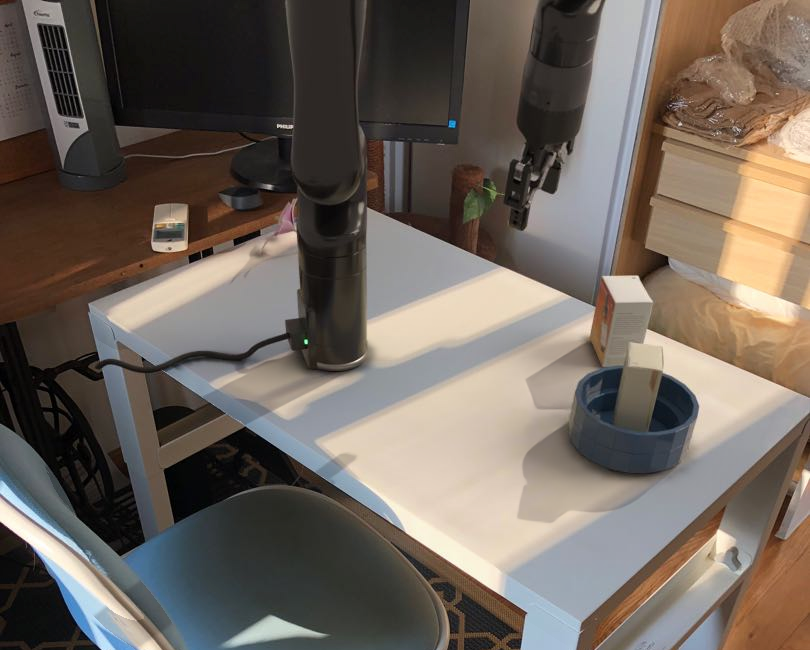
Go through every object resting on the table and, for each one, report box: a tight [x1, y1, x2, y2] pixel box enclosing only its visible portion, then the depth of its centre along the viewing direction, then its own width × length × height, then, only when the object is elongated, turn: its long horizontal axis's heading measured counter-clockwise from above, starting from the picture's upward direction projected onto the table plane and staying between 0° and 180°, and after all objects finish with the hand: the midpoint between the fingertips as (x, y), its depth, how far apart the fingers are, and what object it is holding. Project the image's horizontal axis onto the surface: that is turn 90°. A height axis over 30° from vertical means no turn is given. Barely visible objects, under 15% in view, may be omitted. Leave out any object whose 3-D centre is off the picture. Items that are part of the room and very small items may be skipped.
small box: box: [589, 275, 654, 368], centre depth 132 cm, size 8×6×10 cm
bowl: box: [567, 365, 700, 474], centre depth 118 cm, size 15×15×6 cm
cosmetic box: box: [611, 342, 665, 432], centre depth 115 cm, size 6×4×12 cm
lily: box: [258, 197, 297, 255], centre depth 156 cm, size 12×12×10 cm
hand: (532, 208), depth 116 cm, fingers open, 8 cm apart
